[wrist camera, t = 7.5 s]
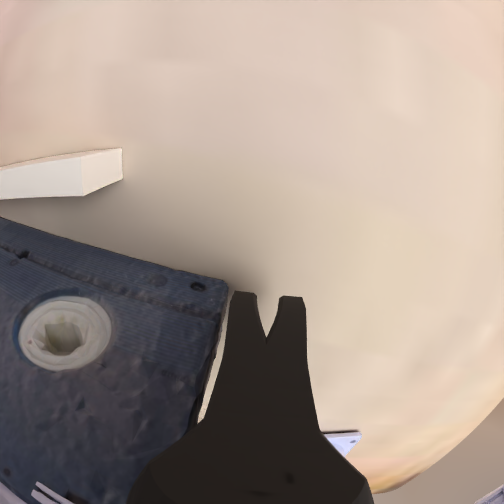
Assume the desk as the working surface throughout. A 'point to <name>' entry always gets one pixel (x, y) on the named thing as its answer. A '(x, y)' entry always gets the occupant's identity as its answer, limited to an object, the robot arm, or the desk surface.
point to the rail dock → (61, 174)
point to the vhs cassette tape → (96, 363)
